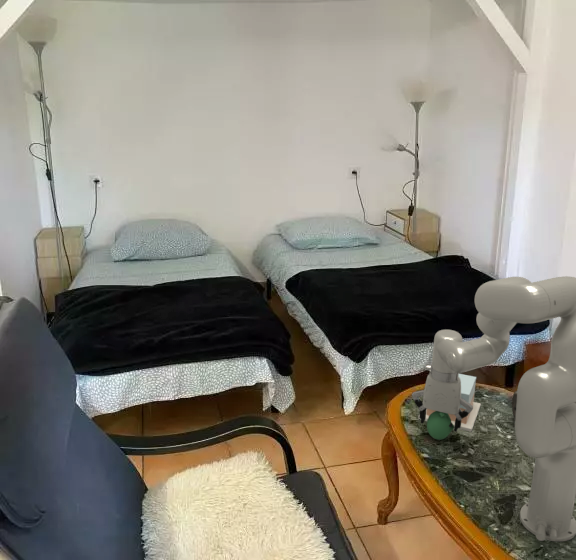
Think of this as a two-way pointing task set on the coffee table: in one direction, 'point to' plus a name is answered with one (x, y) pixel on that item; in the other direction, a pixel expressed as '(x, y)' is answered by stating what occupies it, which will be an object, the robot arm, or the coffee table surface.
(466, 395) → the brick tower
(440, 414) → the alien toy
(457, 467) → the coffee table surface
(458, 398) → the robot arm
